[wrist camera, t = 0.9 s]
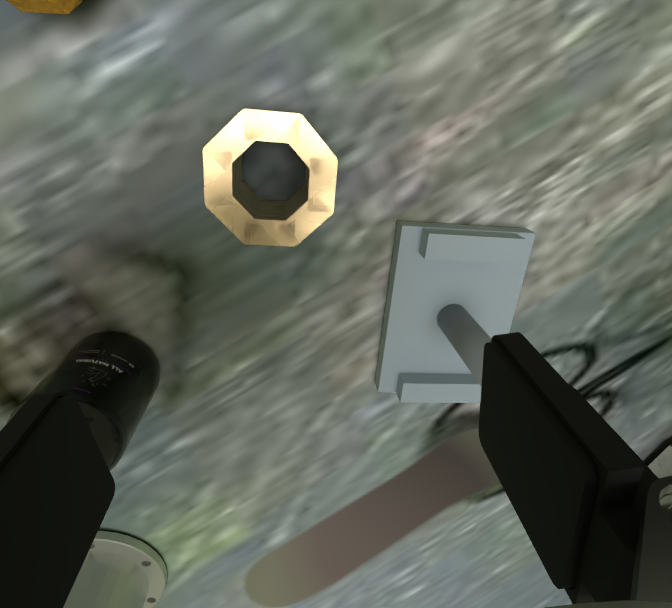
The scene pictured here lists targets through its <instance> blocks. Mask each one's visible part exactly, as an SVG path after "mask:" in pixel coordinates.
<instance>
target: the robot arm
mask: <svg viewBox="0 0 672 608" xmlns="http://www.w3.org/2000/svg"><path fill="white" fill-rule="evenodd" d="M479 438H480V442H481V445H482V447H483V449H484V451H485V453H486V455H487V457H488V459H489V461H490V463H491V465H492V467H493V469H494V471H495V473H496V474H497V476H498V478H499V480H500V482H501V484H502V486H503V488H504V490H505V492H506V494H507V496H508V498H509V500H510V501H511V503H512V505H513V507H514V509H515V511H516V513H517V515H518V517H519V519H520V521H521V523H522V525H523V527H524V528H525V530H526V532H527V534H528V536H529V538H530V540H531V542H532V544H533V546H534V548H535V550H536V552H537V553H538V555H539V557H540V559H541V561H542V563H543V565H544V567H545V569H546V571H547V573H548V575H549V577H550V579H551V580H552V582H553V584H554V585H555V586H556V587H557V588H558V589H563V588H565V590H566V592H567V594H568V596H569V598H570V600H571V601H572V603H573V604H571V605H563V606H554V607H546V608H672V476H667V477H663V478H658V477H657V476H656V475H655V474H654V473H653V472H652V470H651V469H650V468H649V467H648V466H647V465H646V464H645V463H644V462H643V461H642V460H641V459H640V458H639V457H638V455H637V454H636V453H635V452H634V451H633V450H632V449H631V448H630V447H629V446H628V445H627V444H626V443H625V442H624V440H623V439H622V438H621V437H620V436H619V435H618V434H617V433H616V432H615V431H614V430H613V429H612V428H611V427H610V425H609V424H608V423H607V422H606V421H605V420H604V419H603V418H602V417H601V416H600V415H599V414H598V413H597V412H596V410H595V409H594V408H593V407H592V406H591V405H590V404H589V403H588V402H587V401H586V400H585V399H584V398H583V397H582V395H581V394H580V393H579V392H578V391H577V390H576V389H575V388H573V387H572V386H571V385H568V384H567V382H566V381H565V380H564V379H563V378H562V377H561V376H560V375H559V374H558V373H557V372H556V371H555V370H554V368H553V367H552V366H551V365H550V364H549V363H548V362H547V361H546V360H545V359H544V358H543V357H542V355H541V354H540V353H539V352H538V351H537V350H536V349H535V348H534V347H533V346H532V345H531V344H530V342H529V341H528V340H527V339H526V338H525V337H524V336H523V335H522V334H521V333H519V332H516V333H508V334H500V335H494V336H493V337H492V339H491V342H487V343H485V345H484V353H483V369H482V385H481V401H480V417H479ZM114 492H115V483H114V479H113V477H112V475H111V473H110V470H109V468H108V466H107V464H106V462H105V460H104V457H103V455H102V453H101V451H100V449H99V447H98V444H97V442H96V440H95V438H94V436H93V434H92V431H91V429H90V427H89V425H88V423H87V421H86V418H85V416H84V414H83V412H82V410H81V408H80V405H79V403H78V401H77V400H76V398H75V397H73V396H69V395H68V394H67V393H66V392H65V391H56V392H48V393H40V394H35V395H33V396H31V397H30V398H29V399H28V400H27V402H26V403H25V404H24V405H23V406H22V407H21V408H20V410H19V411H18V412H17V413H16V414H15V415H14V416H13V418H12V419H11V420H10V421H9V422H8V423H7V424H6V426H5V427H4V428H3V429H2V430H1V431H0V608H153V607H154V606H155V605H156V604H157V603H158V602H159V600H160V599H161V597H162V596H163V593H164V590H165V586H166V582H167V569H166V566H165V564H164V561H163V560H162V559H161V557H160V556H159V555H158V553H157V552H155V551H154V550H153V549H152V548H151V547H150V546H148V545H146V544H145V543H143V542H142V541H140V540H137V539H135V538H133V537H130V536H127V535H124V534H120V533H116V532H108V531H98V530H99V527H100V525H101V523H102V521H103V519H104V516H105V514H106V512H107V510H108V508H109V505H110V503H111V501H112V499H113V496H114Z"/></svg>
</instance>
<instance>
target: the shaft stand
mask: <svg viewBox="0 0 672 608" xmlns="http://www.w3.org/2000/svg"><path fill="white" fill-rule="evenodd" d="M535 235H536V233H534V232H532V231H530V230H528V229H526V228H513V227H496V226H479V225H463V224H446V223H429V222H413V221H397V227H396V234H395V241H394V249H393V256H392V263H391V270H390V277H389V284H388V292H387V299H386V306H385V313H384V320H383V327H382V335H381V342H380V349H379V356H378V363H377V370H376V378H375V384H376V387H377V390H378V392H396V393H397V395H398V398H399V400H400V402H427V403H480V401H481V385H482V369H483V353H484V345H485V343H487V342H491V339H492V337H493V336H494V335H500V334H508V333H509V330H510V327H511V323H512V319H513V316H514V312H515V308H516V305H517V301H518V297H519V294H520V290H521V286H522V283H523V279H524V275H525V271H526V268H527V264H528V260H529V257H530V253H531V249H532V246H533V242H534V238H535Z"/></svg>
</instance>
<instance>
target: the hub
mask: <svg viewBox="0 0 672 608" xmlns="http://www.w3.org/2000/svg"><path fill="white" fill-rule="evenodd" d="M255 141H266V142H279V143H288V144H289V145H290V146H291V147H292V148H293V149H294V151H295V152H296V153H297V154H298V155H299V157H300V158H301V159H302V160H303V161H304V162H305V164H306V165H305V184H304V185H303V186H302V187H301V188H300V189H299V190H298V191H297V192H295V193H294V194H293V195H292V196H291V197H290V198H289V199H288V200H287V201H277V200H261V199H260V198H259V197H258V196H257V195H256V194H255V193H254V192H253V191H252V190H251V188H250V187H249V186H248V185H247V184H246V183H245V182H244V181H243V152H244V151H245V150H246V149H247V148H248V147H249V146H250V145H251V144H253V143H254V142H255ZM337 163H338V160H337V157H336V156H335V155H334V154H333V152H332V151H331V150H330V149H329V147H328V146H327V145H326V144H325V143H324V141H323V140H322V139H321V138H320V136H319V135H318V134H317V133H316V131H315V130H314V129H313V128H312V126H311V125H310V124H309V123H308V121H307V120H306V119H305V118H304V117H303V115H302V114H300V113H292V112H280V111H269V110H258V109H242V110H241V111H240V112H239V113H238V114H237V115H236V116H235V117H234V118H233V119H232V120H231V121H230V122H229V123H228V124H227V125H226V126H225V127H224V128H223V129H222V130H221V131H220V132H219V133H218V134H217V135H216V136H215V137H214V138H213V139H212V140H211V141H210V142H209V143H208V144H207V145H206V146H205V147H204V149H203V169H204V195H205V205H206V207H207V208H208V209H209V210H210V211H211V212H212V213H213V214H214V215H215V216H216V217H217V218H218V219H219V220H220V221H221V222H222V223H223V224H224V225H225V226H226V227H227V228H228V229H229V230H230V231H231V232H232V233H233V234H234V235H235V236H236V237H237V238H238V239H239V240H240V241H241V242H242V243H244V244H251V245H271V246H291V247H294V246H297V245H298V244H299V243H300V242H301V241H302V240H303V239H305V238H306V237H307V236H308V235H309V234H310V233H311V232H313V231H314V230H315V229H316V228H317V227H318V226H319V225H321V224H322V223H323V222H324V221H325V220H326V219H327V218H329V217H330V216H331V215H332V214H333V213H332V212H334V201H335V189H336V176H337Z"/></svg>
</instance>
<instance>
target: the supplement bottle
mask: <svg viewBox="0 0 672 608" xmlns="http://www.w3.org/2000/svg"><path fill="white" fill-rule="evenodd" d="M158 381H159V368H158V365H157V362H156V360H155V358H154V356H153V355H152V353H151V352H150V351H149V350H148V349H147V348H146V347H145V346H144V345H143V344H141V343H140V342H138V341H137V340H135V339H133V338H131V337H128V336H125V335H121V334H116V333H101V334H96V335H92V336H90V337H87V338H85V339H84V340H82V341H81V342H79V343H78V344H77V345H76V346H75V347H74V348H73V349H72V350H71V351H70V352H69V353H68V354H67V355H66V356H65V357H64V358H63V359H62V360H61V361H60V362H59V363H58V364H57V365H56V366H55V367H54V368H53V370H52V371H51V372H50V373H49V374H48V375H47V376H46V377H45V378H44V379H43V380H42V381H41V382H40V383H39V384H38V385H37V386H36V387H35V388H34V389H33V391H32V392H31V393H30V394H29V395H28V396H27V397H26V398H25V399H24V400H23V401H22V402H21V403H20V404H19V405H18V406H17V408H16V409H15V410H14V411H13V413H12V414H11V416H10V418H9V420H8V422H9V421H10V420H11V419H12V418H13V416H14V415H15V414H16V413H17V412H18V411H19V410H20V408H21V407H22V406H23V405H24V404H25V403H26V402H27V400H28V399H29V398H30V397H31V396H33V395H35V394H40V393H48V392H56V391H65V392H66V393H67V394H68V395H69V396H73V397H75V398H76V400H77V401H78V403H79V405H80V408H81V410H82V412H83V414H84V416H85V418H86V421H87V423H88V425H89V427H90V429H91V431H92V434H93V436H94V438H95V440H96V442H97V444H98V447H99V449H100V451H101V453H102V455H103V457H104V460H105V462H106V464H107V466H108V468H109V470H112V469H113V468H114V467H115V466H116V464H117V463H118V462H119V460H120V459H121V457H122V455H123V453H124V451H125V450H126V448H127V446H128V444H129V442H130V440H131V438H132V436H133V434H134V432H135V430H136V428H137V426H138V424H139V422H140V420H141V418H142V416H143V414H144V412H145V410H146V408H147V406H148V404H149V402H150V400H151V398H152V396H153V394H154V392H155V390H156V388H157V385H158Z"/></svg>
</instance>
